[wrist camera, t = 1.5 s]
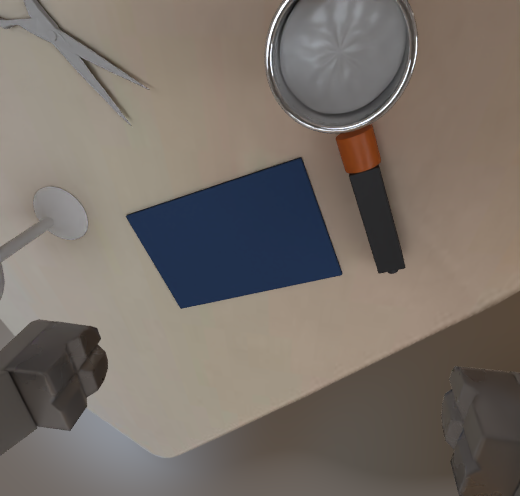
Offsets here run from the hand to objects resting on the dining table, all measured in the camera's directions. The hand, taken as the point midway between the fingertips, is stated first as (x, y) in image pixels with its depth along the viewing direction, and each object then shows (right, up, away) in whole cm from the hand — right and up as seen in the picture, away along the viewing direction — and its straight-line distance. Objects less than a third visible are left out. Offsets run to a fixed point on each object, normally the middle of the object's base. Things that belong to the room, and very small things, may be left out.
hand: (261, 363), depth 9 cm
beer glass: (+6, +19, +21) cm, 28 cm away
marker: (+11, +7, +27) cm, 29 cm away
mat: (-3, +3, +32) cm, 32 cm away
